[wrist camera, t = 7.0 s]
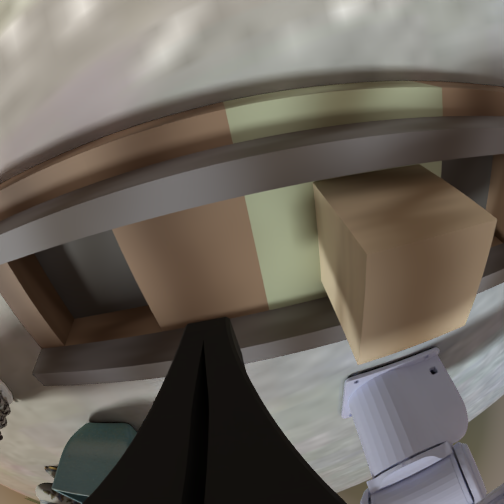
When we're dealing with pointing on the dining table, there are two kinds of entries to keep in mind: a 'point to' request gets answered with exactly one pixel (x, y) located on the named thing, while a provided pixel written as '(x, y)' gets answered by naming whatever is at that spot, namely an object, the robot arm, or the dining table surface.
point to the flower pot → (91, 458)
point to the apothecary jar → (52, 492)
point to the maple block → (399, 256)
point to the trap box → (222, 220)
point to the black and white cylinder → (4, 404)
